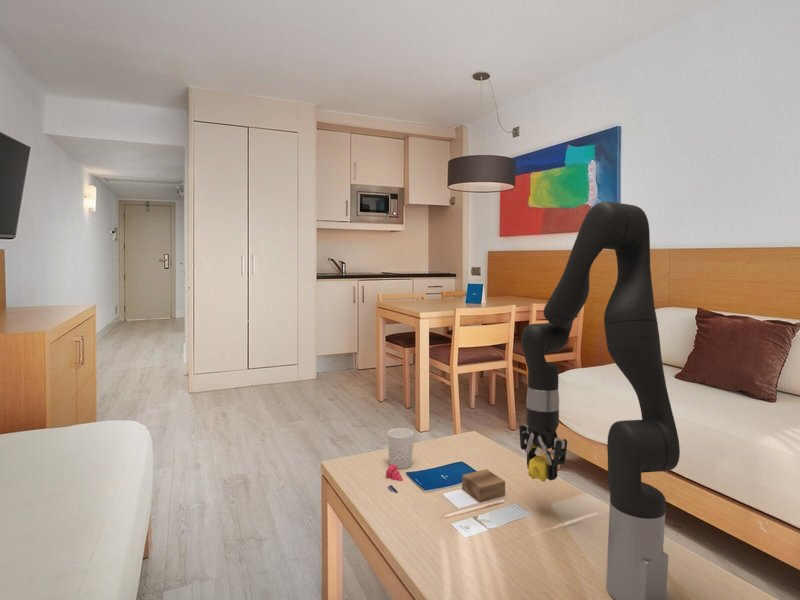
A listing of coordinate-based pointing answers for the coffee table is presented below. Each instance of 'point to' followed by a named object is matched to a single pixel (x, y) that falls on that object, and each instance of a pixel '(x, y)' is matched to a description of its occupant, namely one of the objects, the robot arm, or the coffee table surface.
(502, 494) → the base block
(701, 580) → the coffee table surface
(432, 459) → the coffee table surface
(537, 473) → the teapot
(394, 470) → the toy pieces
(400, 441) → the white cup
